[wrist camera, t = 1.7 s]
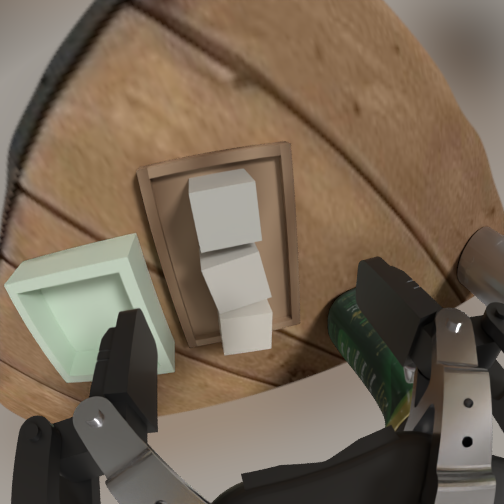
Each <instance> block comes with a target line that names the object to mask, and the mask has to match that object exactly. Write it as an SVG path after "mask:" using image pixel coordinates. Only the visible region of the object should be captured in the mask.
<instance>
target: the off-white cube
mask: <svg viewBox="0 0 504 504" xmlns="http://www.w3.org/2000/svg"><path fill="white" fill-rule="evenodd" d="M189 198H190V203H191V208H192V212H193V217H194V222H195V227H196V231H197V236H198V241H199V245H200V250H201V253H203V252H208V251H213V250H218V249H223V248H228V247H233V246H238V245H243V244H248V243H253V242H258V241H262V235H261V227H260V218H259V209H258V201H257V192H256V184H255V180H254V179H253V178H252V177H251V176H250V175H249V174H248V173H247V172H246V170H245V169H244V168H243V169H237V170H231V171H225V172H219V173H214V174H208V175H203V176H198V177H193V178H189Z"/></svg>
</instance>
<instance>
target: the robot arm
mask: <svg viewBox="0 0 504 504" xmlns="http://www.w3.org/2000/svg"><path fill="white" fill-rule="evenodd" d="M457 276H458V280H459V282H460V283H461V284H462V285H464V286H465V287H466V288H467V289H468V290H469V291H470V292H472V293H473V294H474V295H475V296H476V297H477V298H478V299H479V300H480V301H481V302H482V303H484V304H485V305H486V306H487V307H486V310H485V312H484V315H482V316H475V317H469V316H467V314H465V313H464V312H462V311H460V310H458V309H455V308H445V309H443V308H442V307H441V306H440V305H439V304H438V303H437V302H436V301H435V300H434V299H433V298H432V297H431V296H430V295H429V294H428V293H426V292H425V291H424V290H423V289H422V288H421V287H419V285H418V284H417V283H416V282H415V281H412V278H410V277H409V276H408V275H407V274H406V273H405V272H404V271H402V270H400V269H398V268H396V267H393V266H390V265H388V264H387V263H386V262H385V261H384V260H383V259H382V258H381V257H374V258H370V259H366V260H362V261H360V262H359V265H358V274H357V284H356V293H355V297H356V302H357V305H358V307H359V309H360V311H361V312H362V313H363V314H364V316H365V317H366V318H367V320H368V321H369V322H370V324H371V325H372V326H373V328H374V329H375V330H376V332H377V333H378V334H379V336H380V337H381V338H382V340H383V341H384V342H385V344H386V345H387V346H388V348H389V349H390V350H391V352H392V353H393V354H394V356H395V357H396V359H397V360H398V361H399V363H400V364H401V365H402V367H405V366H407V365H409V364H411V363H413V362H414V363H415V365H416V368H415V371H414V381H413V391H412V399H411V407H410V413H409V417H408V420H407V422H406V425H405V428H404V431H400V432H395V430H394V429H393V427H392V425H390V426H388V427H385V428H383V429H381V430H379V431H377V432H374V433H372V434H370V435H368V436H365V437H363V438H360V439H358V440H357V441H355V442H354V443H353V444H351V445H350V446H348V447H347V448H345V449H344V450H342V451H341V452H339V453H338V454H336V455H335V456H333V457H332V458H330V459H328V460H327V461H324V462H318V463H307V464H293V465H279V466H276V467H271V468H267V469H263V470H258V471H253V472H249V473H243V474H241V476H242V480H243V482H241V483H239V484H236V485H234V486H233V487H231V488H229V489H227V490H226V491H225V492H223V493H222V494H220V495H219V496H218V497H217V498H216V499H215V500H214V501H213V502H212V503H210V502H209V501H208V500H207V499H205V498H204V497H203V496H202V495H200V494H199V493H198V492H197V491H196V490H195V489H193V488H192V487H191V486H190V485H189V484H188V483H187V482H185V481H184V480H183V479H182V478H181V477H180V476H179V475H178V474H177V473H176V472H175V471H174V470H173V469H172V468H171V467H170V466H169V465H167V463H166V462H165V461H163V459H162V458H161V457H160V456H159V455H158V454H157V453H156V452H155V451H154V450H153V449H152V448H151V447H150V446H149V445H148V444H147V433H152V432H158V425H157V424H158V423H157V421H158V420H157V367H158V352H157V346H156V342H155V339H154V337H153V335H152V333H151V330H150V328H149V326H148V323H147V321H146V319H145V316H144V314H143V312H142V310H141V309H140V308H137V309H131V310H125V311H120V312H119V314H118V318H117V322H116V327H111V328H109V329H108V330H107V332H106V333H105V334H104V336H103V337H102V339H101V343H100V347H99V353H98V356H97V362H96V365H95V370H94V375H93V380H92V385H91V390H90V396H89V398H87V399H85V400H84V401H82V402H81V403H80V404H79V405H78V406H77V408H76V409H75V411H74V414H73V417H71V418H69V419H66V420H63V421H60V422H57V423H54V424H51V423H50V422H49V421H48V420H47V419H46V418H45V417H43V416H33V417H30V418H29V419H27V420H26V421H25V422H24V423H23V425H22V426H21V428H20V431H19V436H18V442H17V449H16V455H15V463H14V472H13V481H12V497H11V504H101V502H100V485H99V476H102V475H105V476H106V478H107V480H106V482H105V483H106V486H107V488H108V489H109V491H110V492H111V494H112V495H113V496H114V497H115V499H116V500H117V501H118V502H119V504H504V458H502V457H498V456H494V455H492V415H493V416H494V418H495V419H496V421H497V423H498V424H499V426H500V427H501V429H502V430H503V432H504V369H503V368H502V366H501V365H500V364H499V363H498V362H497V360H496V358H497V356H498V355H499V353H500V351H501V350H502V351H503V353H504V236H503V235H501V234H500V233H498V232H497V231H495V230H493V229H492V228H490V227H483V228H481V229H480V230H478V231H477V232H476V233H475V234H474V235H473V236H472V238H471V239H470V240H469V242H468V243H467V245H466V247H465V249H464V251H463V253H462V256H461V258H460V261H459V265H458V272H457Z"/></svg>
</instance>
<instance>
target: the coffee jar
mask: <svg viewBox="0 0 504 504" xmlns="http://www.w3.org/2000/svg"><path fill="white" fill-rule="evenodd" d="M355 293H356V288H354V289H352V290H349V291H347V292H345V293H344V294H342V295H340V296H339V297H338V298H337V299H336V300H335V302H334V303H333V305H332V306H331V308H330V310H329V314H328V333H329V336H330V339H331V340H332V342H333V343H334V345H335V346H336V348H337V349H338V351H339V352H340V353H341V355H342V356H343V357H344V359H345V360H346V361H347V362H348V364H349V365H350V366H351V367H352V369H353V370H354V371H355V373H356V374H357V375H358V376H359V378H360V379H361V380H362V382H363V383H364V384H365V386H366V387H367V389H368V390H369V392H370V393H371V394H372V396H373V397H374V399H375V401H376V402H377V404H378V406H379V408H380V409H381V411H382V413H383V416H384V419H385V427H388V426H390V425H392V427H393V429H394V430H395V432H400V431H404V428H405V425H406V422H407V420H408V417H409V413H410V407H411V399H412V391H413V381H414V371H415V368H416V365H415V363H414V362H413V363H411V364H409V365H407V366H405V367H402V365H401V364H400V363H399V361H398V360H397V359H396V357H395V356H394V354H393V353H392V352H391V350H390V349H389V348H388V346H387V345H386V344H385V342H384V341H383V340H382V338H381V337H380V336H379V334H378V333H377V332H376V330H375V329H374V328H373V326H372V325H371V324H370V322H369V321H368V320H367V318H366V317H365V316H364V314H363V313H362V312H361V311H360V309H359V307H358V305H357V302H356V297H355Z"/></svg>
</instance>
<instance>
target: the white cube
mask: <svg viewBox="0 0 504 504" xmlns="http://www.w3.org/2000/svg"><path fill="white" fill-rule="evenodd" d="M217 313H218V322H219V329H220V334H221V340H222V346H223V351H224V355H230V354H238V353H245V352H251V351H258V350H264V349H270V348H271V339H272V310H271V308H270V305H269V303H268V300H267V299H265V300H262V301H259V302H256V303H253V304H250V305H247V306H244V307H241V308H238V309H235V310H231V311H228V312H225V313H222V314H220V313H219V311H218V308H217Z"/></svg>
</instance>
